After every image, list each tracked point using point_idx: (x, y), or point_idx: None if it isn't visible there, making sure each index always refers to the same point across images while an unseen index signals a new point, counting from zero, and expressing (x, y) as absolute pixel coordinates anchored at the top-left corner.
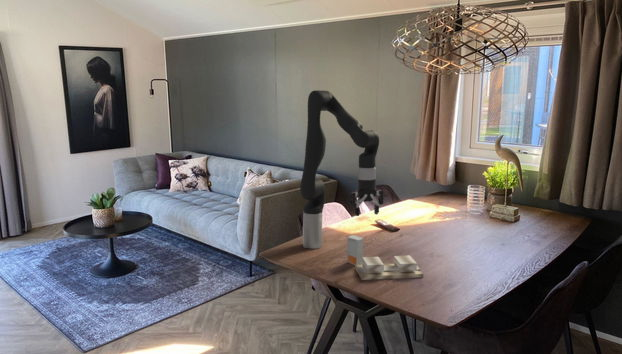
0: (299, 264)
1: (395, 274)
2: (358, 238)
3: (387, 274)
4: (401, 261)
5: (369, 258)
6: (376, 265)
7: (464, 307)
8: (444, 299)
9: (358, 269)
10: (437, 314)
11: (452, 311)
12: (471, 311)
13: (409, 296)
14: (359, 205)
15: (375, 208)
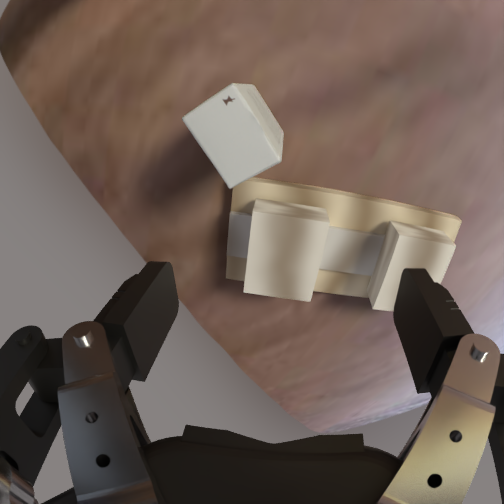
0: (53, 111)
1: (345, 291)
2: (244, 160)
3: (319, 286)
4: (390, 291)
5: (279, 233)
6: (280, 295)
7: (384, 410)
8: (376, 389)
9: (228, 231)
10: (321, 419)
11: (354, 416)
12: (383, 418)
13: (314, 372)
14: (135, 411)
15: (417, 343)
